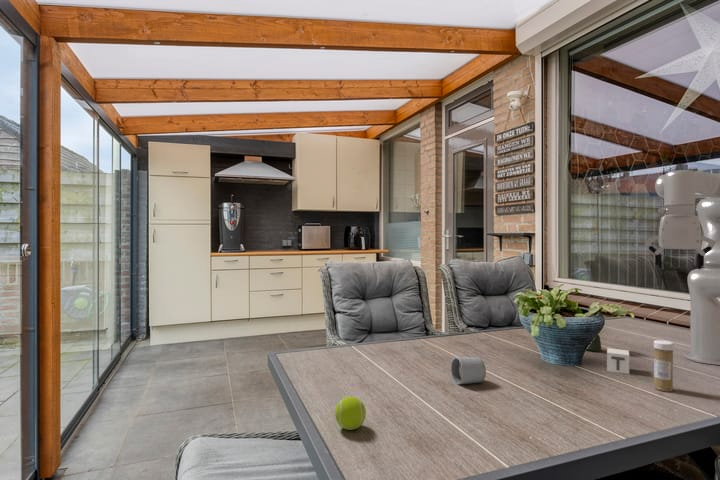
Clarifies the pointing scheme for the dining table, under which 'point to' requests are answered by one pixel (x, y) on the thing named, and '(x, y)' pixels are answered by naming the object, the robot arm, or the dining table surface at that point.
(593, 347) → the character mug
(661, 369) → the sprinkles bottle
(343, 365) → the dining table surface
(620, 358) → the lettered cube
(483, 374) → the ceramic mug
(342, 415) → the tennis ball
